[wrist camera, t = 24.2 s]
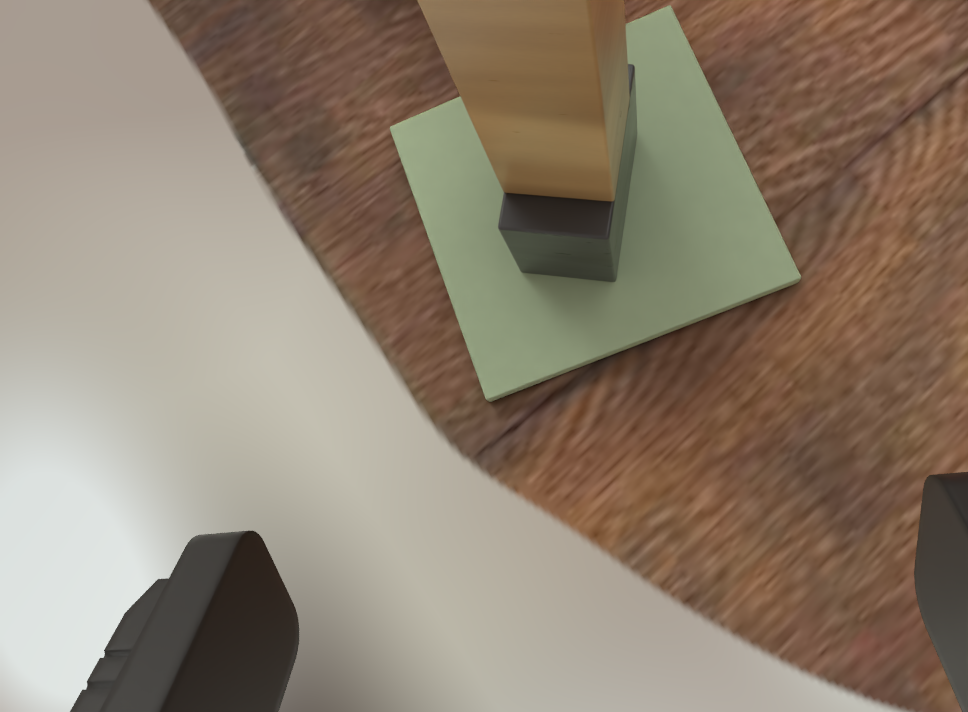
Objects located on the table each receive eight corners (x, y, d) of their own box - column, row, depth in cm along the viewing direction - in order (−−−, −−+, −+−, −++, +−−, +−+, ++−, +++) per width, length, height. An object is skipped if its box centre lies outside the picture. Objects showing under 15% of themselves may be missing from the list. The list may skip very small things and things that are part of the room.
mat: (670, 13, 27) (670, 3, 27) (799, 282, 25) (802, 277, 24) (393, 133, 28) (388, 126, 28) (489, 402, 26) (485, 400, 25)
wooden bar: (544, 125, 27) (448, -228, 14) (638, 131, 26) (623, -234, 14) (520, 273, 26) (394, 35, 13) (616, 283, 25) (578, 42, 13)
